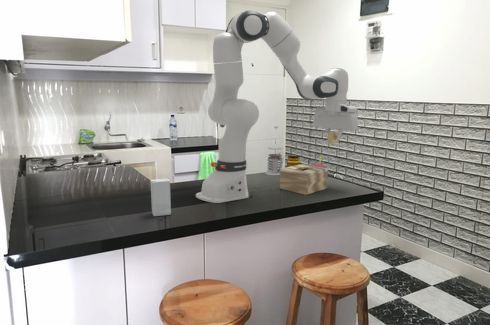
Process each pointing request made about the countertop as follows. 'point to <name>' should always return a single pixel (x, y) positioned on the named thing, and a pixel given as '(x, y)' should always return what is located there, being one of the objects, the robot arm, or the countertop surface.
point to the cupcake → (319, 163)
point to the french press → (274, 160)
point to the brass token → (332, 137)
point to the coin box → (303, 179)
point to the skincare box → (160, 197)
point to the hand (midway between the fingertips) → (333, 139)
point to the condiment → (292, 160)
